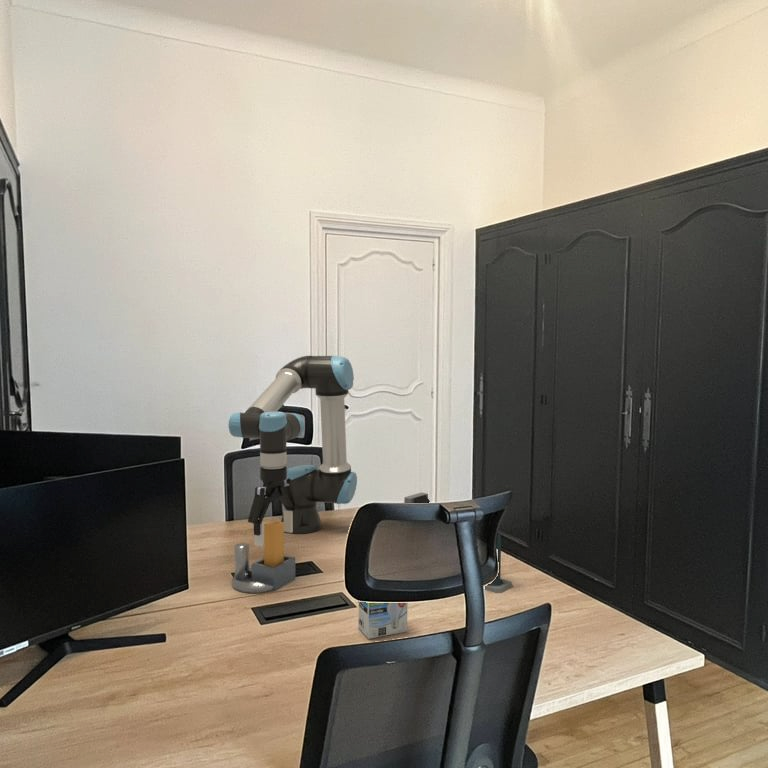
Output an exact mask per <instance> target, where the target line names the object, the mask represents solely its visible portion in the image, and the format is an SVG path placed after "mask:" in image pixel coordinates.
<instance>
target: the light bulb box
mask: <svg viewBox="0 0 768 768" xmlns="http://www.w3.org/2000/svg"><path fill="white" fill-rule="evenodd" d="M408 604H409V603H366V602H359V601H358V622H357V623H358V626H357V627H358V629H359V630H360V631H361V633H363V635H364V636H365V637H366V638H367V639H368V640H370V639H371V640H372V639H375V638H376V639H377V638H380V637H381V638H382V637H386V636H390V635H396V634H401V633H402V634H403V633H407V632H408Z"/></svg>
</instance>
